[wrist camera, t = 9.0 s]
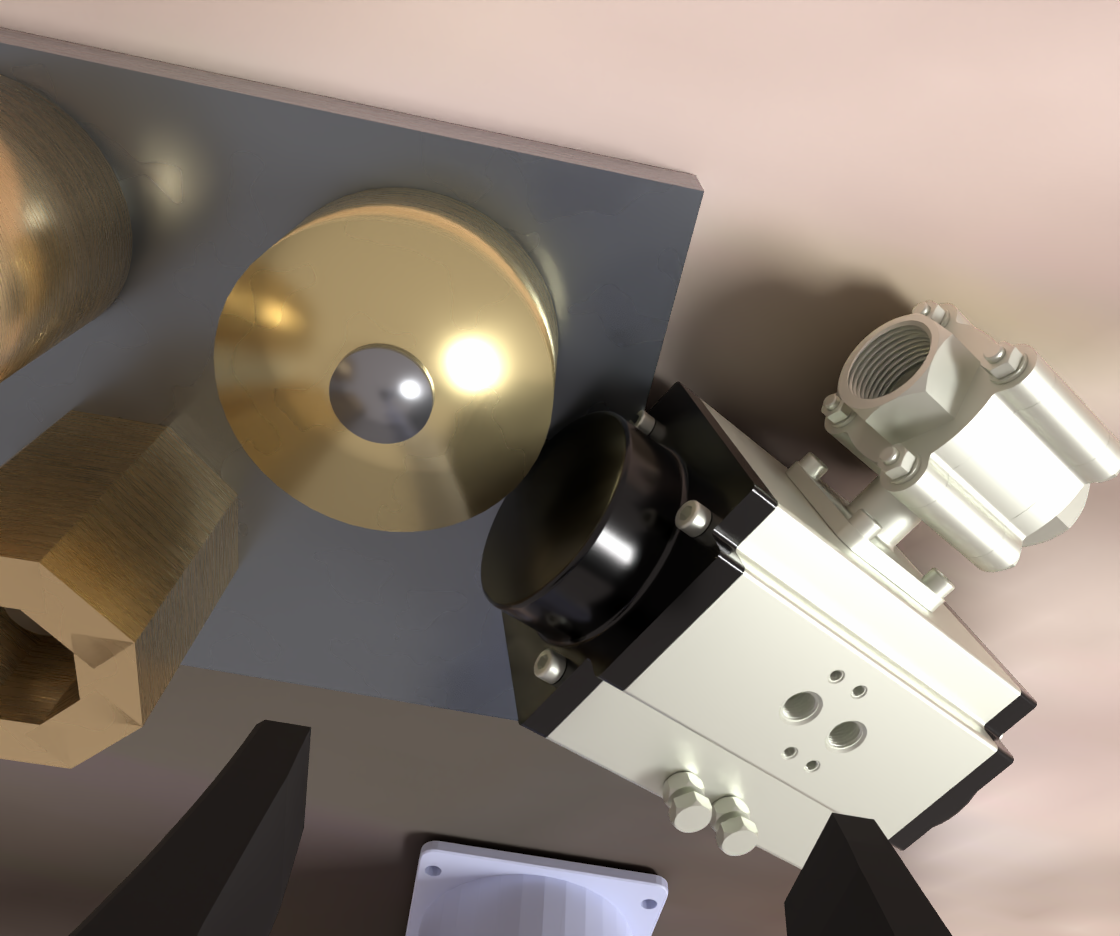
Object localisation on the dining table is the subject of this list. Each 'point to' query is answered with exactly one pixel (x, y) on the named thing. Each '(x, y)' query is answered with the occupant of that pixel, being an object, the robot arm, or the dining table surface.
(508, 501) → the pneumatic valve
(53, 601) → the tan hollow octagonal prism
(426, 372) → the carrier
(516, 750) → the dining table surface
